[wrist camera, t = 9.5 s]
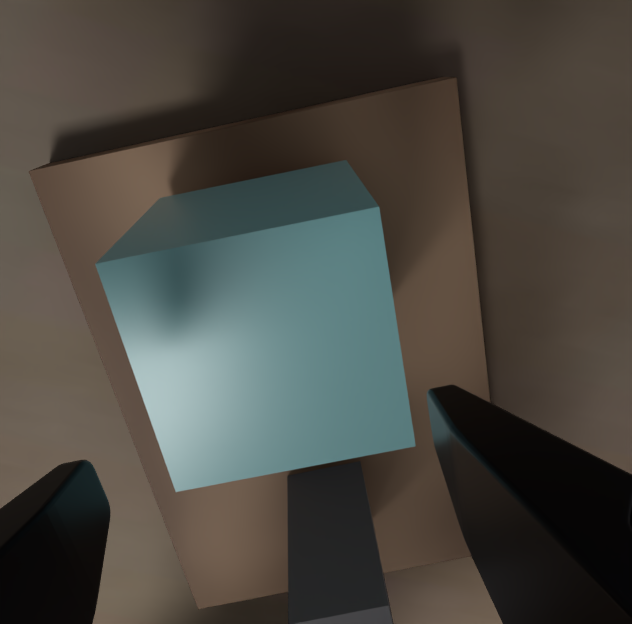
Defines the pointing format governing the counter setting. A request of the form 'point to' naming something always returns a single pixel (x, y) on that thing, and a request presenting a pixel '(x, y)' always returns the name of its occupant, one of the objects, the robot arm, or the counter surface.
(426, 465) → the board
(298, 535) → the post
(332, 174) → the pale teal cube
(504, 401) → the counter surface
